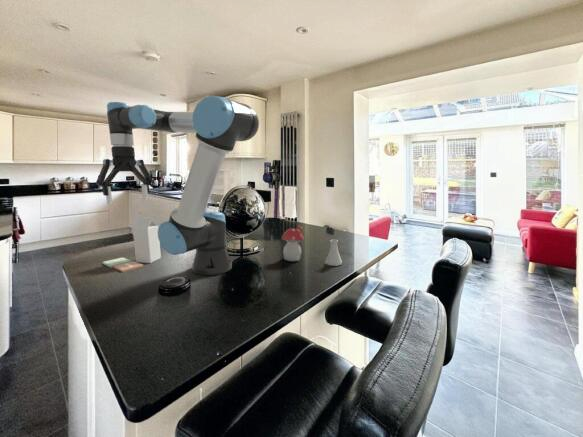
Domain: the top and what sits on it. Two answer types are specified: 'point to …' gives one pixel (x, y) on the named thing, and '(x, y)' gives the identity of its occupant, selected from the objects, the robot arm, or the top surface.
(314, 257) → the top surface
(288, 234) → the decorative ornament
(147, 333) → the top surface
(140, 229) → the milk carton
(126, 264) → the pad lying
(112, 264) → the pale green square tile
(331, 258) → the flask
